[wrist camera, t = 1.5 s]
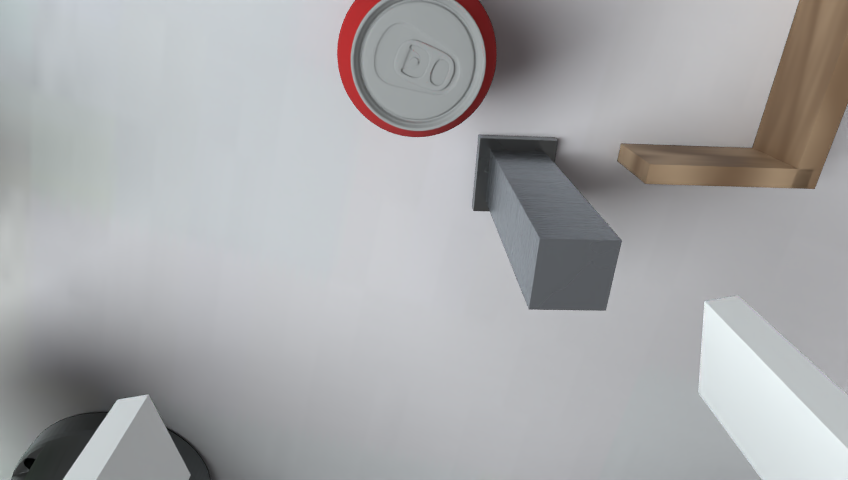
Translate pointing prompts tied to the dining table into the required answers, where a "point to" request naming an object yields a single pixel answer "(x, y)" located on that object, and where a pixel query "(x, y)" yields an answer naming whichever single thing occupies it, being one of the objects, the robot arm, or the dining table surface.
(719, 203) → the dining table surface
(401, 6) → the beverage can
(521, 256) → the post
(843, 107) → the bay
